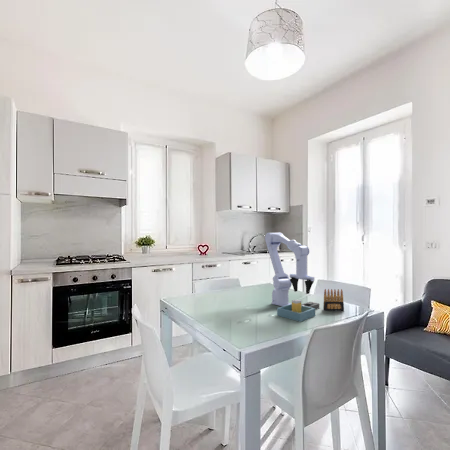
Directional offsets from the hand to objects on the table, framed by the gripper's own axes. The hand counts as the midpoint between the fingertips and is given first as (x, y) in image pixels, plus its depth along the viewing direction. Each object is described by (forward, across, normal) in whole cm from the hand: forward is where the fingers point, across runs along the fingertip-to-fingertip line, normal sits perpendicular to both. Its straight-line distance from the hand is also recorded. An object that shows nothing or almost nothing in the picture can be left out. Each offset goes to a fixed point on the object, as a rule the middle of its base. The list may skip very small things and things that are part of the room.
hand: (301, 292), depth 158 cm
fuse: (+10, -2, +8) cm, 13 cm away
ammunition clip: (+11, -11, -14) cm, 21 cm away
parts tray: (+10, -2, +9) cm, 14 cm away
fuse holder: (+10, 0, -6) cm, 12 cm away
